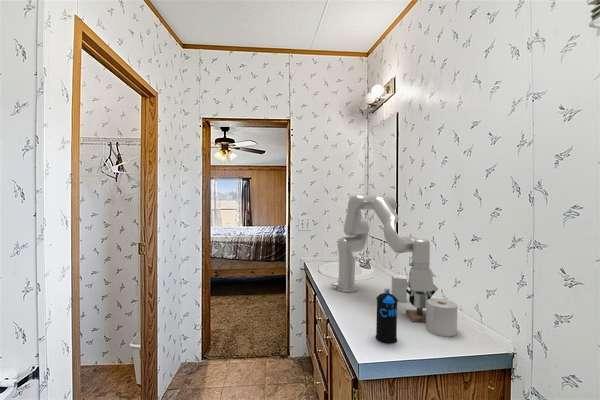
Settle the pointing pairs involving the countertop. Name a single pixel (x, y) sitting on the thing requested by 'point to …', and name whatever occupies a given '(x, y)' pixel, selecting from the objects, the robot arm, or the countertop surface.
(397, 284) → the supplement box
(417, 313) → the shaft block
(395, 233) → the robot arm
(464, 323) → the countertop surface
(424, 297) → the hub
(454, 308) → the toilet paper roll
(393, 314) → the aerosol can
